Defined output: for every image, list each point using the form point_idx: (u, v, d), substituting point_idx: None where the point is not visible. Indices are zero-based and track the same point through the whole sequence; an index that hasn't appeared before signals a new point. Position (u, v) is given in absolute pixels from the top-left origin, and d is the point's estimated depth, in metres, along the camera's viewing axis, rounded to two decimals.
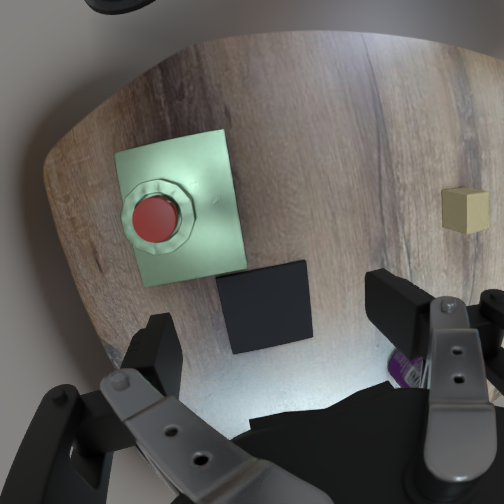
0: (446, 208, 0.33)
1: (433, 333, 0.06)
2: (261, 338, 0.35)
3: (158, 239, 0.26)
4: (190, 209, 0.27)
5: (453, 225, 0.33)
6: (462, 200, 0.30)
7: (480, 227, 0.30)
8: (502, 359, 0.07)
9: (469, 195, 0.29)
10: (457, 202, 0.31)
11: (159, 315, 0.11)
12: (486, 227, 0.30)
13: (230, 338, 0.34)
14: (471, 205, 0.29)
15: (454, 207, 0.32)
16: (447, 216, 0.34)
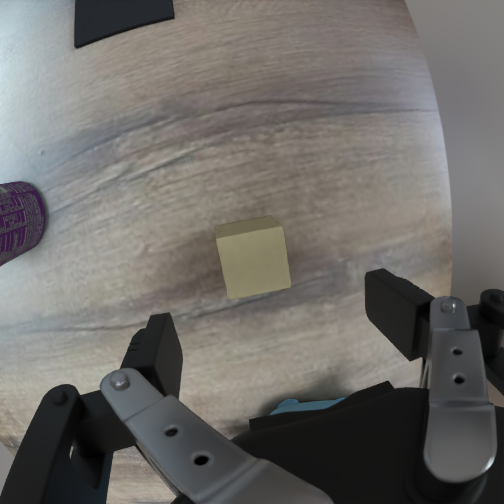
0: (245, 221, 0.26)
1: (433, 333, 0.06)
2: None
3: None
4: None
5: (223, 229, 0.24)
6: (270, 225, 0.23)
7: (229, 275, 0.23)
8: (502, 359, 0.07)
9: (281, 233, 0.22)
10: (262, 224, 0.24)
11: (159, 315, 0.11)
12: (230, 293, 0.23)
13: None
14: (266, 241, 0.22)
15: (253, 224, 0.24)
16: (234, 224, 0.26)
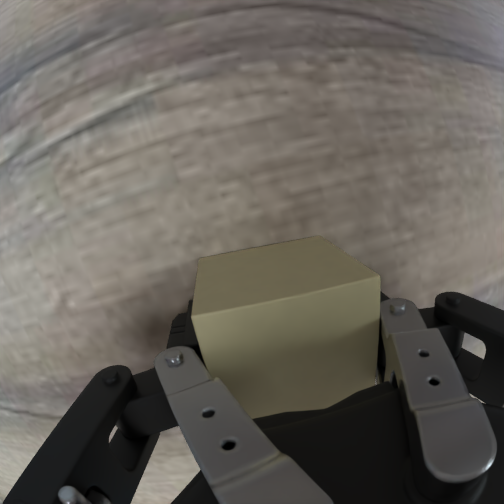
0: (268, 251, 0.11)
1: (393, 339, 0.06)
2: None
3: None
4: None
5: (216, 275, 0.10)
6: (342, 271, 0.08)
7: None
8: (465, 360, 0.07)
9: (376, 295, 0.08)
10: (315, 263, 0.09)
11: None
12: None
13: None
14: (335, 320, 0.08)
15: (290, 262, 0.10)
16: (240, 258, 0.11)
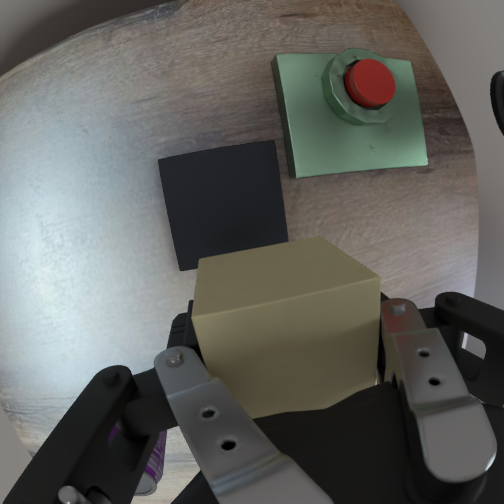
0: (268, 251, 0.11)
1: (393, 339, 0.06)
2: (183, 198, 0.25)
3: (357, 80, 0.19)
4: (375, 120, 0.22)
5: (216, 275, 0.10)
6: (342, 272, 0.08)
7: None
8: (465, 360, 0.07)
9: (376, 295, 0.08)
10: (315, 264, 0.09)
11: None
12: None
13: (185, 155, 0.24)
14: (336, 321, 0.08)
15: (291, 262, 0.10)
16: (240, 258, 0.11)
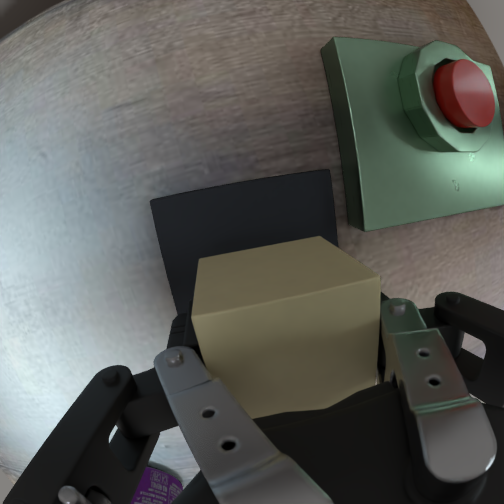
0: (268, 251, 0.11)
1: (393, 339, 0.06)
2: (192, 261, 0.17)
3: (456, 89, 0.11)
4: (470, 147, 0.13)
5: (216, 275, 0.10)
6: (342, 271, 0.08)
7: None
8: (465, 360, 0.07)
9: (376, 295, 0.08)
10: (315, 263, 0.09)
11: None
12: None
13: (192, 194, 0.16)
14: (336, 321, 0.08)
15: (291, 262, 0.10)
16: (240, 258, 0.11)
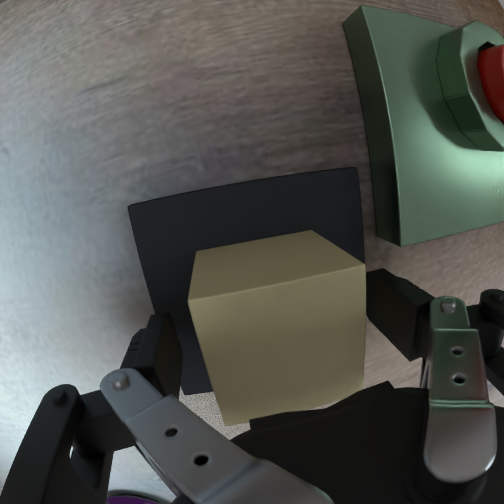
0: (261, 244, 0.12)
1: (433, 333, 0.06)
2: (182, 283, 0.13)
3: None
4: None
5: (212, 265, 0.10)
6: (329, 261, 0.09)
7: (227, 383, 0.09)
8: (502, 359, 0.07)
9: (361, 283, 0.08)
10: (305, 254, 0.10)
11: (159, 315, 0.11)
12: (229, 415, 0.09)
13: (182, 197, 0.12)
14: (323, 306, 0.08)
15: (282, 253, 0.10)
16: (235, 250, 0.12)
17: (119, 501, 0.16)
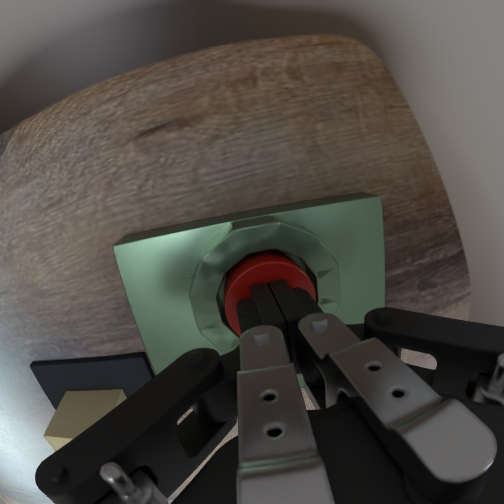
0: (90, 397, 0.17)
1: (334, 359, 0.06)
2: None
3: (232, 315, 0.13)
4: None
5: (62, 411, 0.15)
6: None
7: None
8: None
9: None
10: (95, 419, 0.15)
11: (259, 285, 0.12)
12: None
13: (51, 366, 0.17)
14: None
15: (89, 413, 0.15)
16: (78, 399, 0.16)
17: None
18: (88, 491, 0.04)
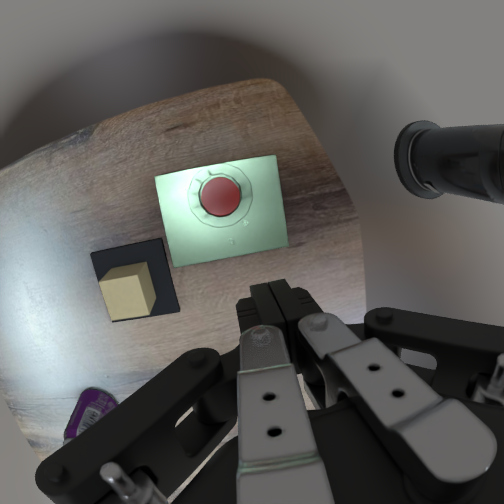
0: (127, 266, 0.35)
1: (334, 359, 0.06)
2: None
3: (204, 200, 0.30)
4: (226, 224, 0.33)
5: (110, 273, 0.34)
6: (132, 273, 0.32)
7: (109, 305, 0.32)
8: None
9: (137, 279, 0.32)
10: (131, 271, 0.33)
11: (259, 285, 0.12)
12: (111, 316, 0.32)
13: (105, 251, 0.35)
14: (128, 284, 0.32)
15: (127, 270, 0.34)
16: (119, 268, 0.35)
17: (87, 391, 0.39)
18: (88, 491, 0.04)
